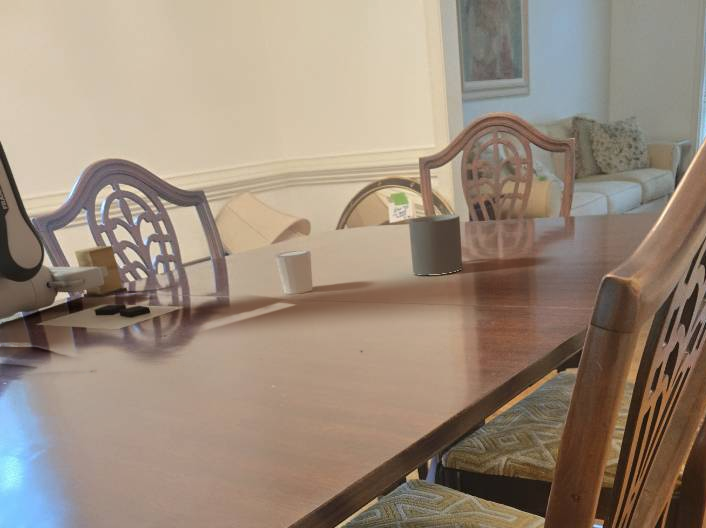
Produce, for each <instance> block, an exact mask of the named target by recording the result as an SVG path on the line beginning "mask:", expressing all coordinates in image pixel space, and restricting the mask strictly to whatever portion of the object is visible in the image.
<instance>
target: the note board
mask: <svg viewBox="0 0 706 528" xmlns="http://www.w3.org/2000/svg"><path fill="white" fill-rule="evenodd" d="M107 305H116V304H111V303H104V304H100V305H96V306H93V307H90V308H86V309H83V310H79V311H76V312H73V313H69V314H66V315H63V316H59V317H56V318H53V319H49V320H46V321H41V322H39V323H36V324H35V325H36V326H53V327H54V326H55V327H68V328H69V327H71V328H89V329H105V330H107V329H108V330H120V329H124V328H126V327H129V326H131V325H135V324H138V323H141V322H144V321H146V320H149V319H153V318H156V317H159V316H162V315H164V314H168V313H171V312H174V311H177V310H181V309H183V308H184V306H172V305H171V306H168V305H144V304H143V305H141V304H140V305H139V304H138V305H137V304H124V305H125V306H126V308H131V307H135V306H144V307H149V309H150V313H148V314H144V315H140V316H136V317H132V318H129V317H124V316H120V313H117V314H114V315H96V314H95V310H96V309H98V308H101V307H104V306H107Z"/></svg>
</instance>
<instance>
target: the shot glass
mask: <svg viewBox="0 0 706 528" xmlns="http://www.w3.org/2000/svg"><path fill="white" fill-rule="evenodd" d="M311 254H312V253H311V251H310V250H293V251H292V250H291V251H286V252H282V253H278V254H275V256H274V257H275V261H276V264H277V269H278V273H279V277H280V281H281V285H282V288H283V289H282V290H283V292H284V294H286V295H297V294H303V293H308V292H311V291H313V290H314V289H313V287H314V286H313V272H312V257H311V256H312V255H311Z"/></svg>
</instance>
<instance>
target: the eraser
mask: <svg viewBox="0 0 706 528" xmlns="http://www.w3.org/2000/svg"><path fill="white" fill-rule="evenodd" d="M74 253H75V256H76V260H77V264H78V267H106V268H107V271H108V275H107V276H105V277H103V280H104V284H103V285H102V286H100V287H96V288H92V289H88V290H85V293H83V297H84V298H104V297H109V296H113V295H115V294H119V293H122V292H128V288H127V287H123V284H122V283H123V282H122V280H121V276H120V272H119V268H118V265H117V260H116V256H115V253H114V249H113V246H112V245H104V246H103V245H99V246H94V247H93V246H92V247H90V248H89V247H88V248H84V249H80V250H76V251H74Z"/></svg>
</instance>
